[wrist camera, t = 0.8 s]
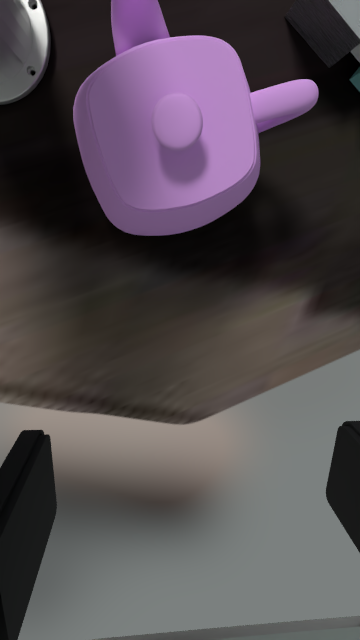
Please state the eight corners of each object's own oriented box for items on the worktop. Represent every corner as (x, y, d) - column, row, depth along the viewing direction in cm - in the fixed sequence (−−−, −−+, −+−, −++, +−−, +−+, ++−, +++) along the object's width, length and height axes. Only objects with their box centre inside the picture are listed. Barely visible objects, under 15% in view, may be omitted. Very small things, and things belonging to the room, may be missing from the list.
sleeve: (284, 16, 35) (311, -21, 30) (324, -38, 34) (360, -89, 28) (329, 68, 37) (361, 41, 31) (368, 17, 36) (410, -19, 30)
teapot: (284, 198, 41) (357, 190, 27) (117, 249, 41) (101, 269, 27) (242, -34, 34) (312, -217, 19) (41, 28, 34) (-37, -109, 19)
